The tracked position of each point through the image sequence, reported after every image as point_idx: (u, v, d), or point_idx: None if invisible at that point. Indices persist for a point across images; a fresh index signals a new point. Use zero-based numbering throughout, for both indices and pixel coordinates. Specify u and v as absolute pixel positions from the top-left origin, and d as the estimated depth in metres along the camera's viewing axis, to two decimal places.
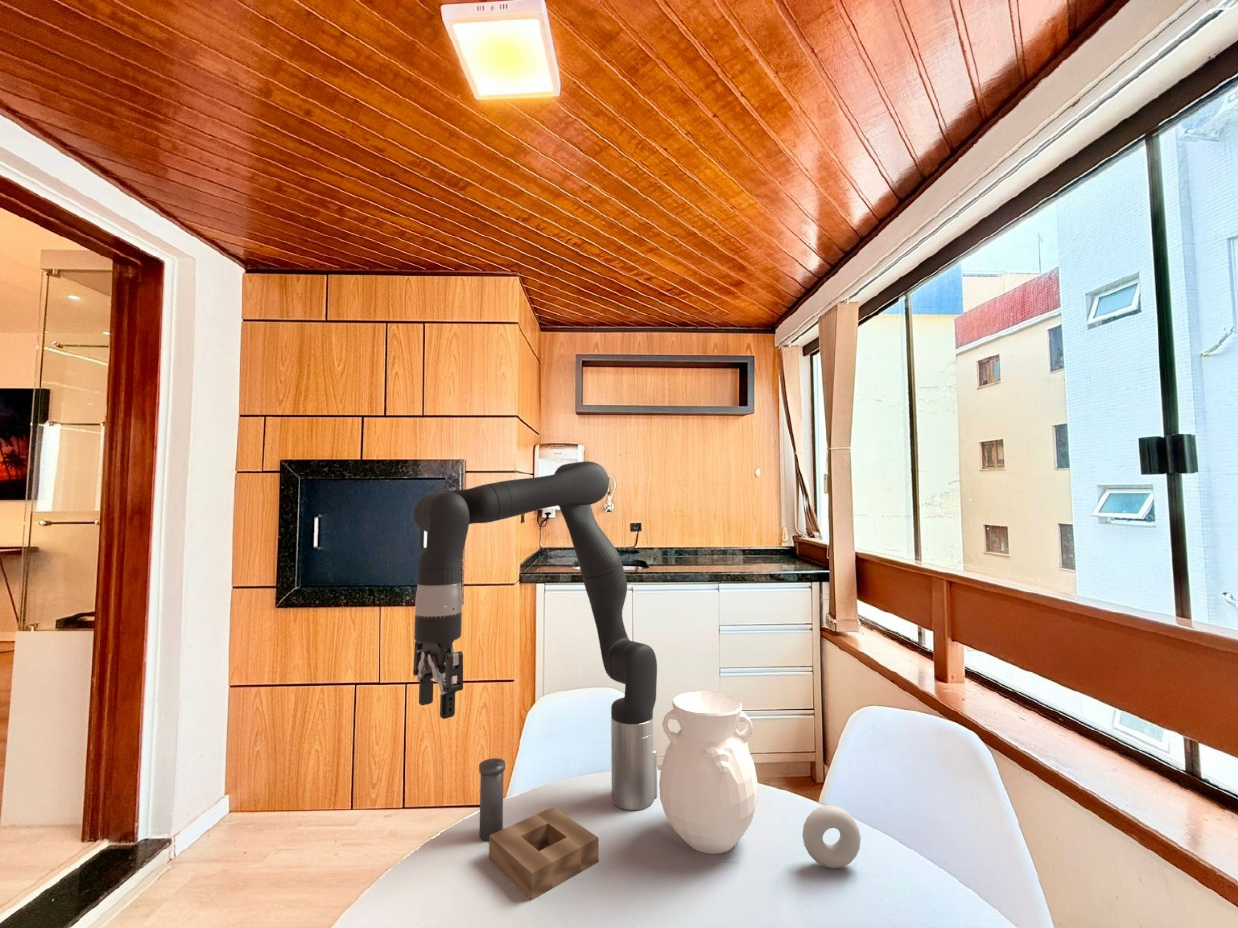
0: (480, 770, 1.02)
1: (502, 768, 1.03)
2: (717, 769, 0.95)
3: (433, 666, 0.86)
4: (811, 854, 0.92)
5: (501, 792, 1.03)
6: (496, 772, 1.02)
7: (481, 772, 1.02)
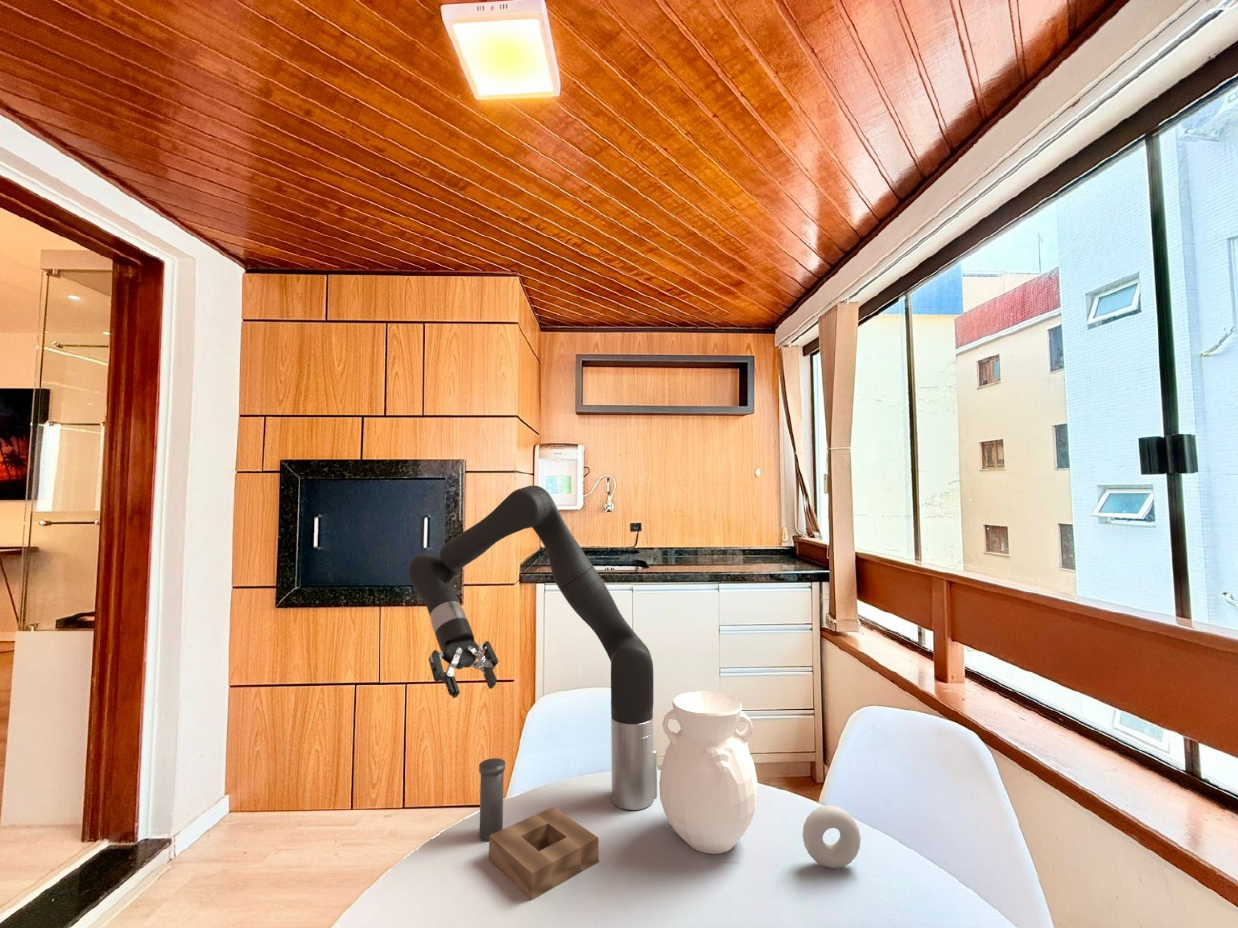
0: (480, 770, 1.02)
1: (503, 768, 1.03)
2: (717, 769, 0.95)
3: (450, 665, 1.15)
4: (811, 854, 0.92)
5: (501, 792, 1.03)
6: (496, 772, 1.02)
7: (481, 772, 1.02)
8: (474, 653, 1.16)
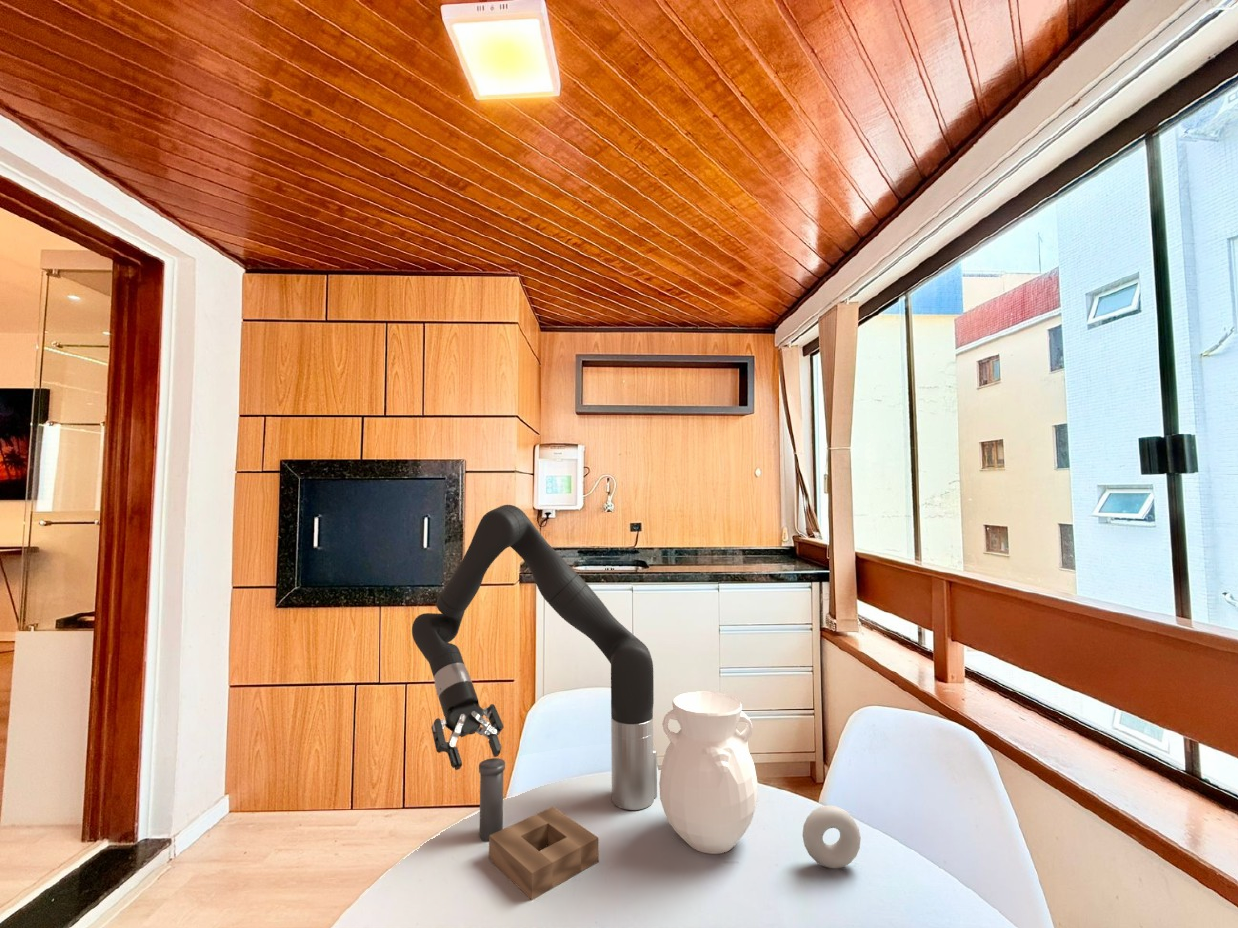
0: (480, 770, 1.02)
1: (502, 768, 1.03)
2: (717, 769, 0.95)
3: None
4: (811, 854, 0.92)
5: (501, 792, 1.03)
6: (496, 772, 1.02)
7: (481, 772, 1.02)
8: (478, 719, 1.13)
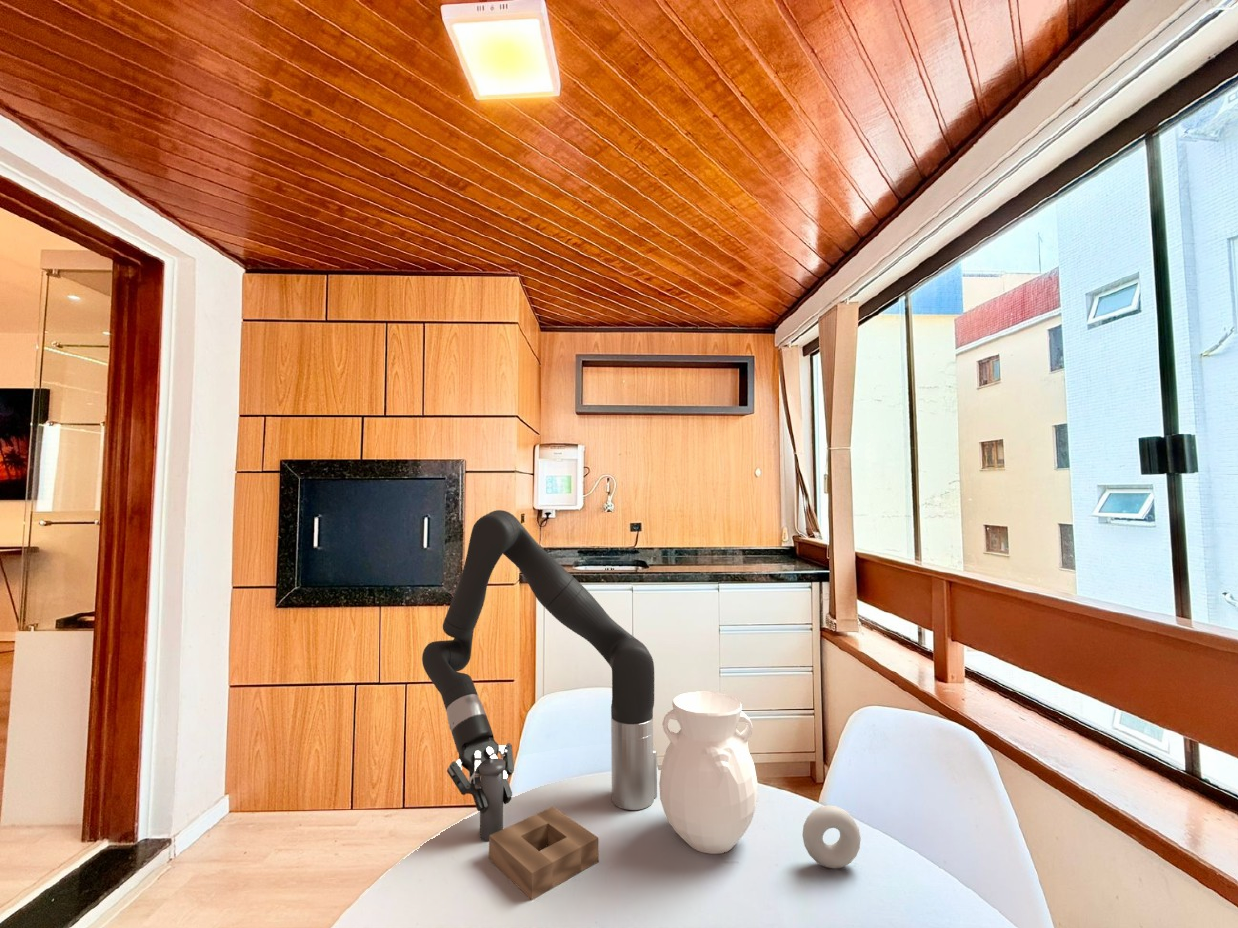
0: (480, 770, 1.02)
1: (503, 768, 1.03)
2: (717, 769, 0.95)
3: None
4: (811, 854, 0.92)
5: (501, 792, 1.03)
6: (496, 772, 1.02)
7: (481, 772, 1.02)
8: (491, 757, 1.07)
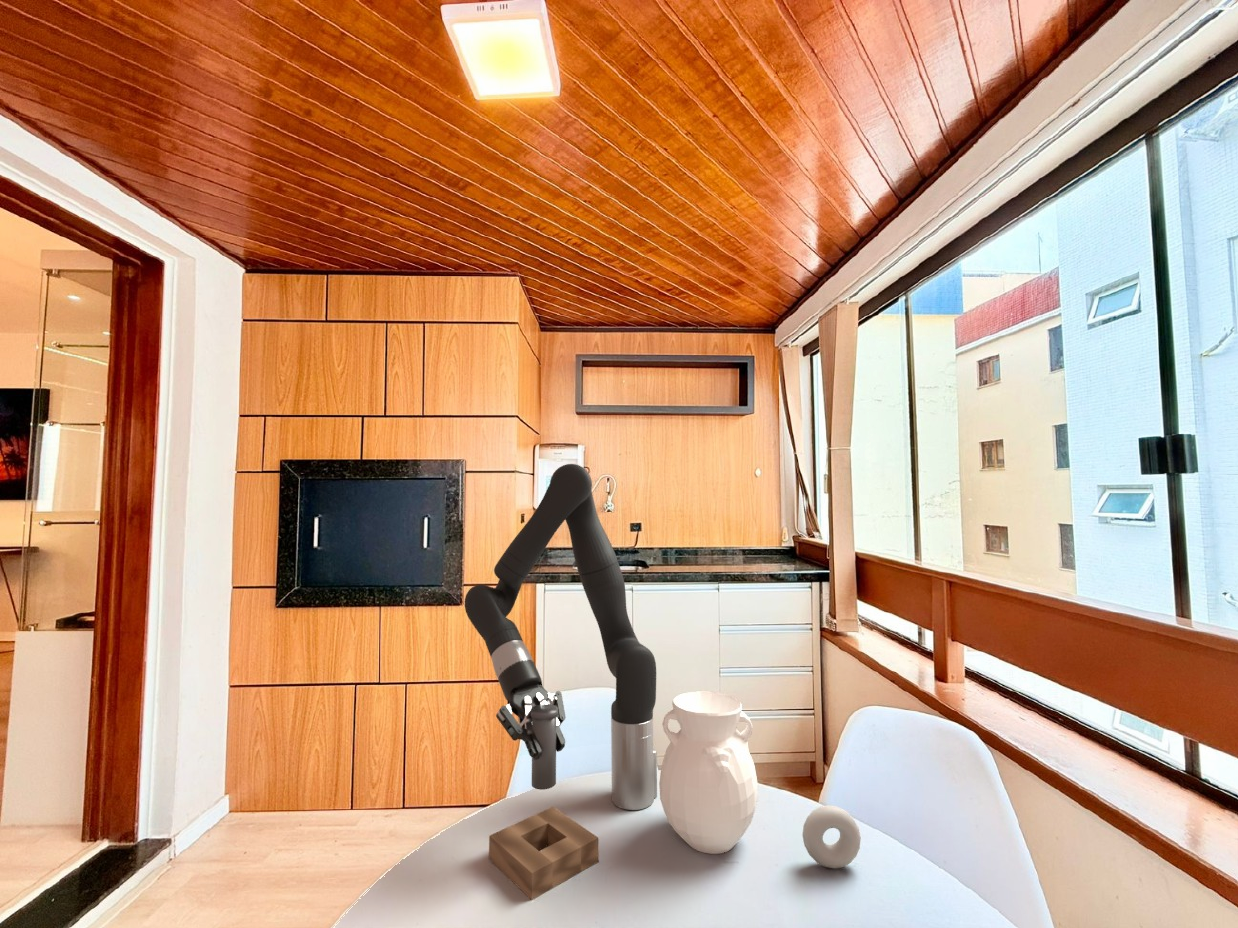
0: (532, 714, 0.96)
1: (556, 713, 0.96)
2: (717, 769, 0.95)
3: None
4: (811, 854, 0.92)
5: (554, 738, 0.96)
6: (550, 716, 0.95)
7: (533, 716, 0.95)
8: (542, 703, 1.00)
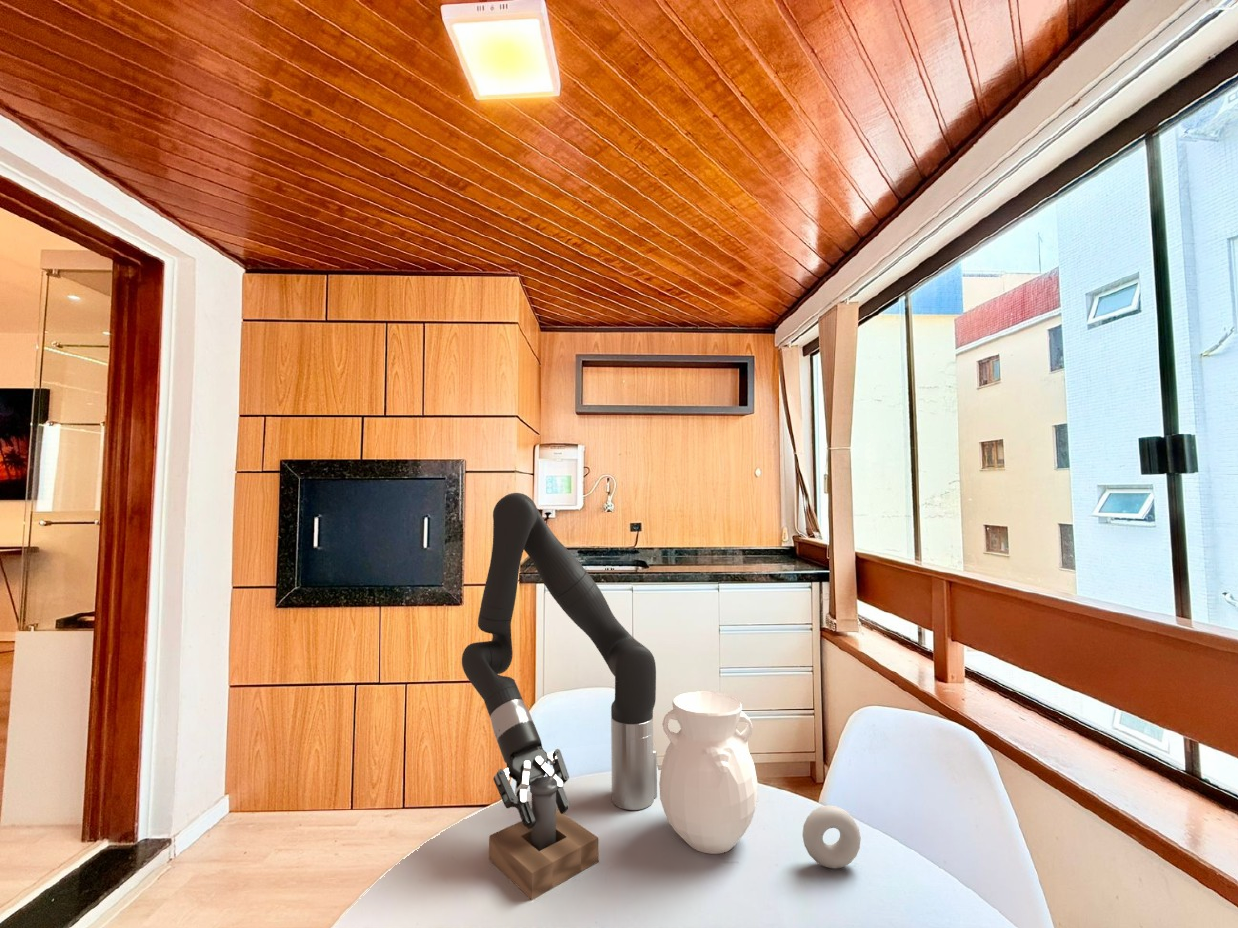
0: (532, 790, 0.94)
1: (556, 788, 0.95)
2: (717, 769, 0.95)
3: None
4: (811, 854, 0.92)
5: (554, 814, 0.95)
6: (549, 793, 0.94)
7: (533, 792, 0.94)
8: (543, 766, 0.99)
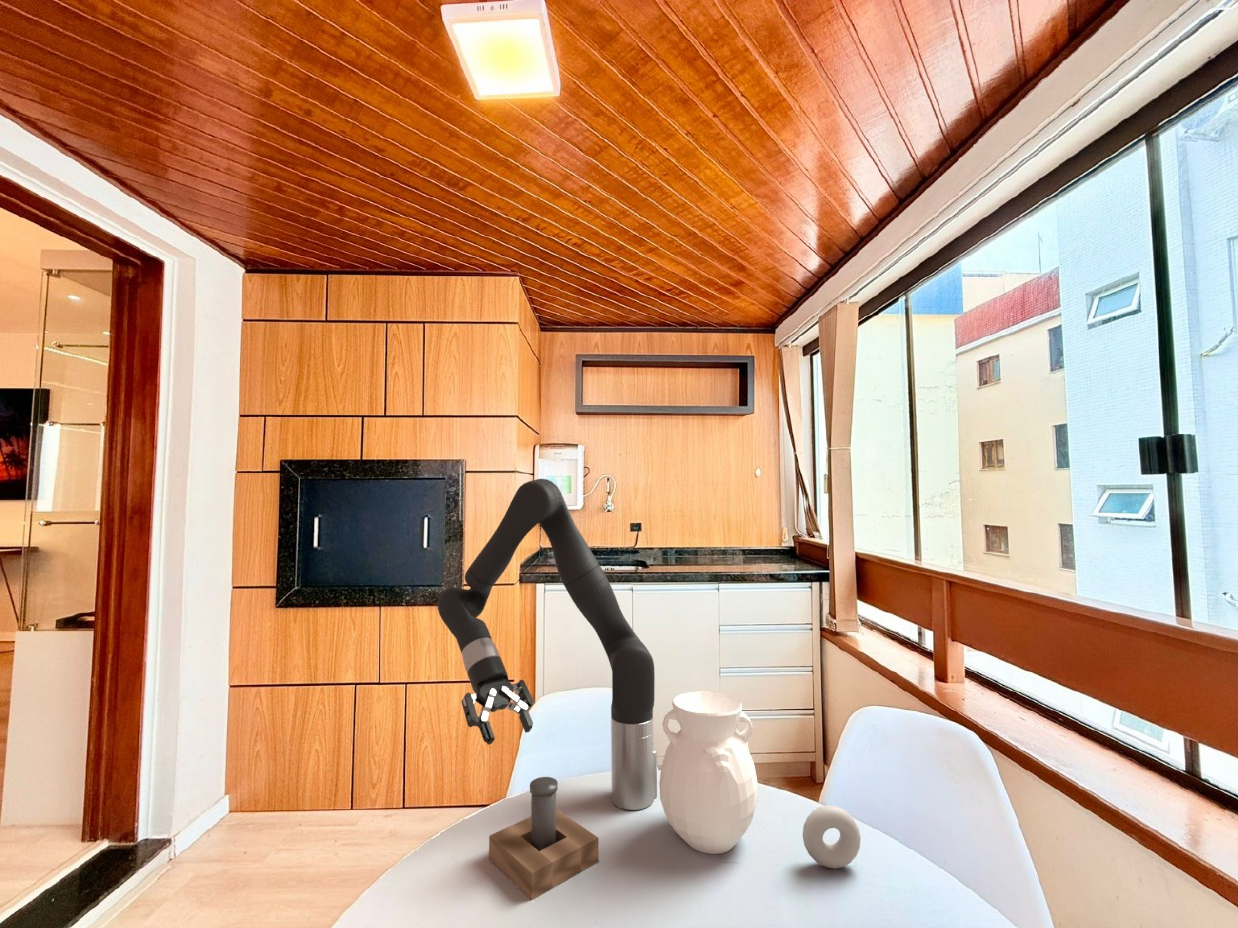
0: (531, 790, 0.94)
1: (555, 788, 0.95)
2: (717, 769, 0.95)
3: (483, 707, 1.09)
4: (811, 854, 0.92)
5: (554, 814, 0.95)
6: (549, 793, 0.94)
7: (533, 793, 0.94)
8: (508, 694, 1.10)
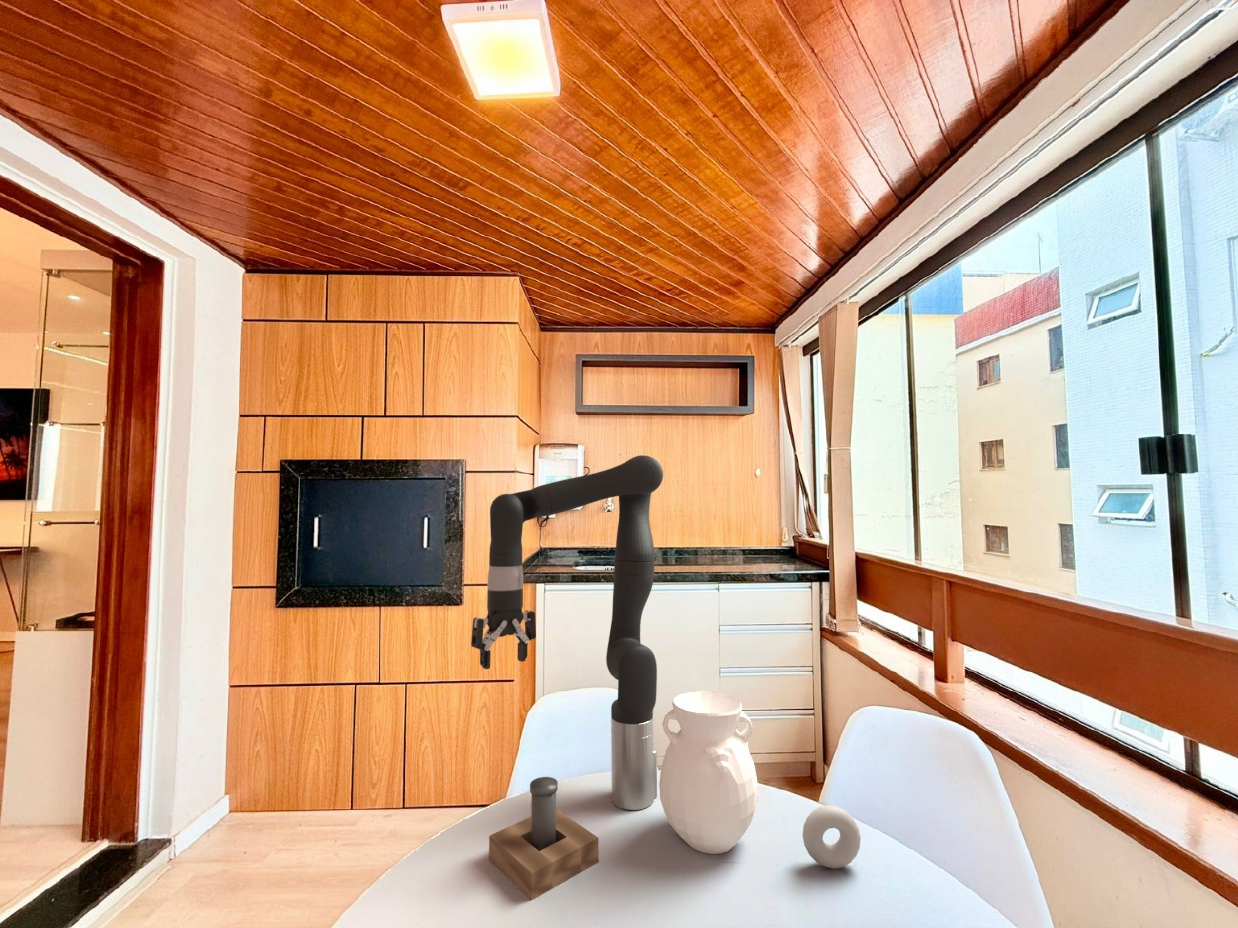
0: (532, 790, 0.94)
1: (555, 788, 0.95)
2: (717, 769, 0.95)
3: (490, 627, 1.13)
4: (811, 854, 0.92)
5: (554, 814, 0.95)
6: (549, 793, 0.94)
7: (533, 793, 0.94)
8: (516, 627, 1.13)
